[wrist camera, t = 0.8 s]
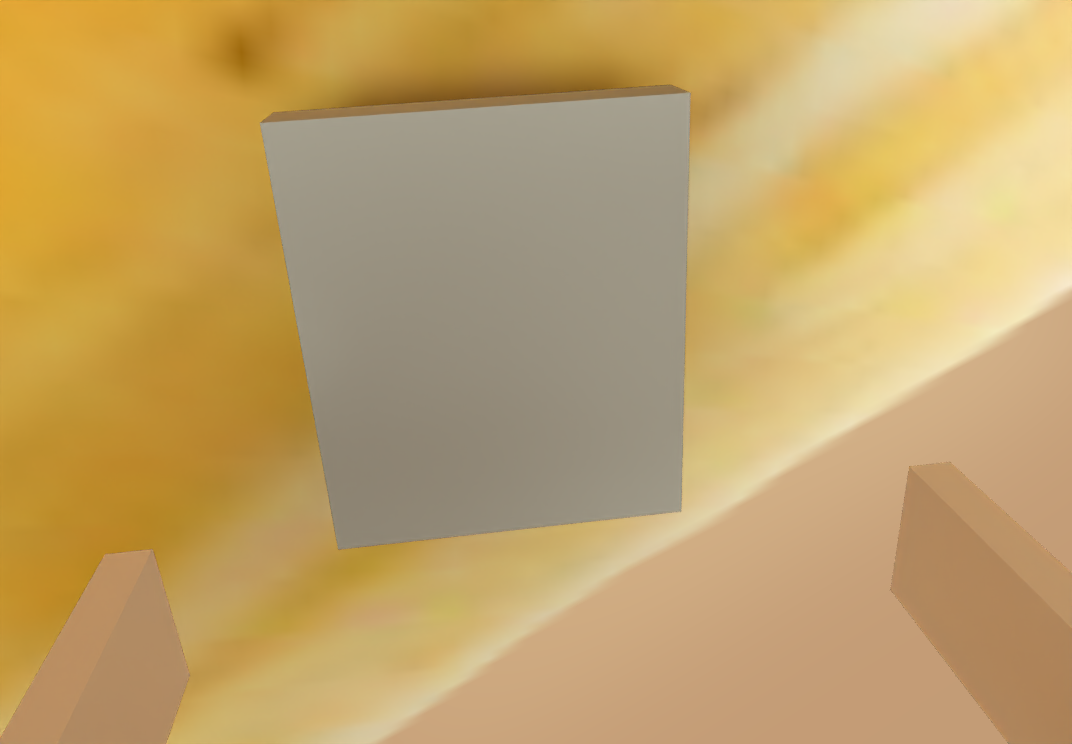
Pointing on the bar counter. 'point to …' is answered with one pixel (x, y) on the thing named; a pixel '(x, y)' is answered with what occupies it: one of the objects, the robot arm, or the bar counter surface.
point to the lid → (490, 306)
